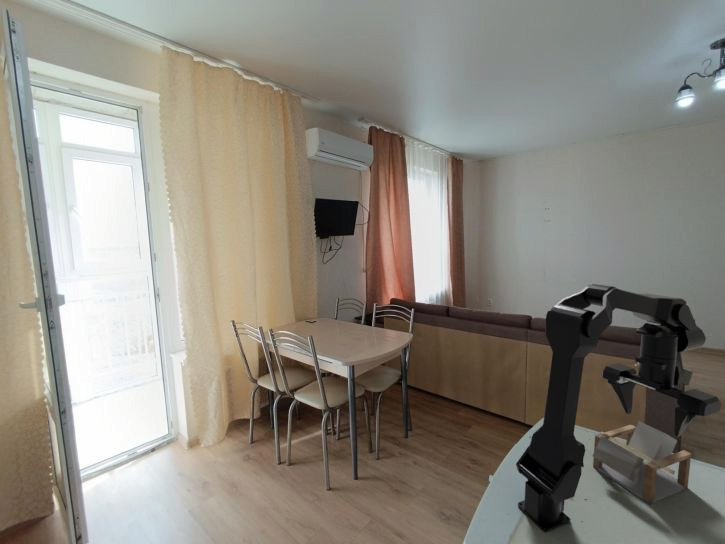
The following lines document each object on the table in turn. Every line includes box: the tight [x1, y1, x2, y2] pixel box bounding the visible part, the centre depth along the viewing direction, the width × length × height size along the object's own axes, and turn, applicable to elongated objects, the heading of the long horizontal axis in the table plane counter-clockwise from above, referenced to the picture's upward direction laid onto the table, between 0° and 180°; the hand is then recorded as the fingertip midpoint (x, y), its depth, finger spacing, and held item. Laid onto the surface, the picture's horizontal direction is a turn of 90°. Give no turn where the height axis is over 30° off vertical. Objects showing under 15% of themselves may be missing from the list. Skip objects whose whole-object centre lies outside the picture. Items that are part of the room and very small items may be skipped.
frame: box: [592, 424, 692, 505], centre depth 71 cm, size 12×11×8 cm
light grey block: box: [628, 420, 678, 461], centre depth 72 cm, size 5×5×6 cm
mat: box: [592, 460, 686, 505], centre depth 72 cm, size 12×11×1 cm
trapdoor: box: [592, 436, 676, 481], centre depth 71 cm, size 13×8×6 cm
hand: (651, 424), depth 72 cm, fingers open, 9 cm apart
